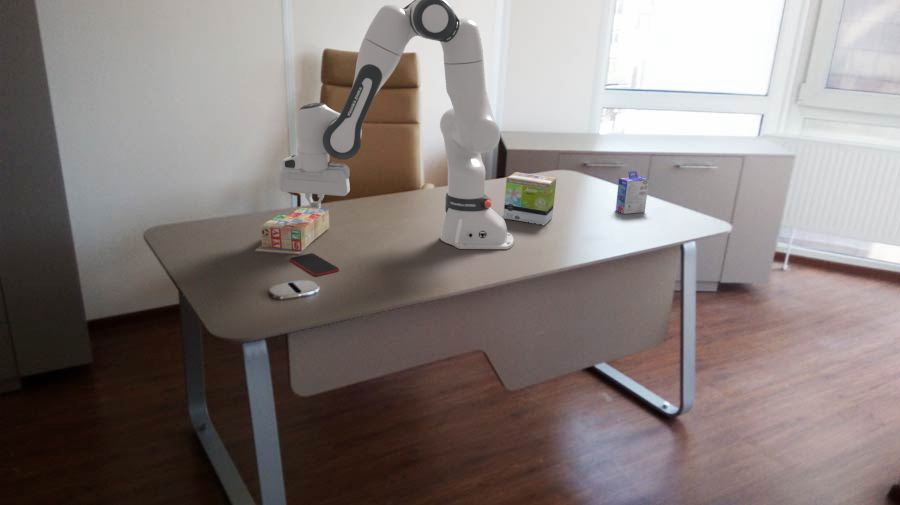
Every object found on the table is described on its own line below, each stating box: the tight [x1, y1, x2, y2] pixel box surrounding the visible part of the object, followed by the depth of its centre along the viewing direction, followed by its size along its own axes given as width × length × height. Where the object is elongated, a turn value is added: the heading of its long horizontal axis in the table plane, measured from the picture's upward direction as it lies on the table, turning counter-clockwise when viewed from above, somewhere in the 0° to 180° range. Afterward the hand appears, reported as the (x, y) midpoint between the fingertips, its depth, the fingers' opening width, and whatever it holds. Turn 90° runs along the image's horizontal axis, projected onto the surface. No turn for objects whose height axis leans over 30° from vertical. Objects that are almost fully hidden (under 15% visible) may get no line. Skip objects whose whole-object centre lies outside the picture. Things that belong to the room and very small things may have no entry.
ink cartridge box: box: [615, 170, 650, 215], centre depth 233 cm, size 10×6×14 cm, turn 114°
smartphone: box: [289, 253, 340, 277], centre depth 175 cm, size 7×1×15 cm
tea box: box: [503, 171, 557, 226], centre depth 220 cm, size 15×10×15 cm, turn 68°
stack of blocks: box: [260, 207, 330, 251], centre depth 193 cm, size 21×6×12 cm
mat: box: [254, 244, 310, 256], centre depth 193 cm, size 13×25×1 cm, turn 174°
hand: (315, 208), depth 189 cm, fingers closed
